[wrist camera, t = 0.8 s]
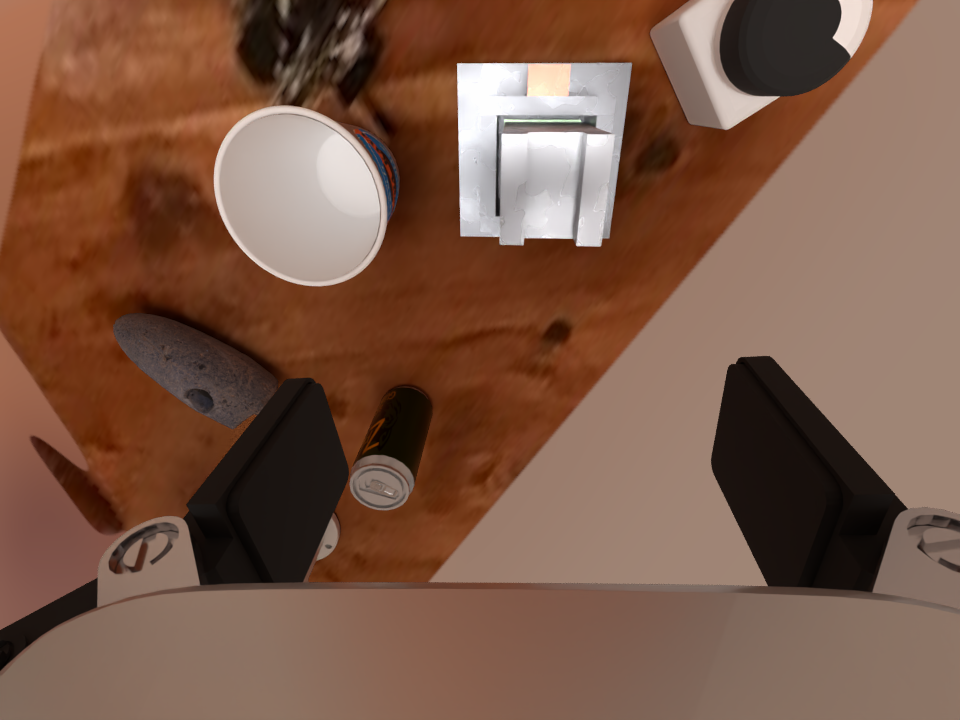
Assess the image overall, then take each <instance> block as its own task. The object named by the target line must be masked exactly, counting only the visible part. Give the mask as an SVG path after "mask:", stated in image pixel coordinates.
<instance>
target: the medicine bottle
mask: <svg viewBox="0 0 960 720" xmlns="http://www.w3.org/2000/svg"><path fill="white" fill-rule="evenodd" d="M872 6H873V0H689V1H688V2H686V3H685V4H684V5H682V6H681V7H680V8H678V9H677V10H676V11H674V12H673V13H672V14H670V15H669V16H668V17H666V18H665V19H664V20H662V21H661V22H660V23H658V24H657V25H656V26H654V27H653V28H652V29H651V32H650V36H651V39H652V41H653V43H654V45H655V48H656V50H657V52H658V55H659V57H660V59H661V61H662V64H663V66H664V68H665V70H666V73H667V75H668V77H669V79H670V82H671V84H672V86H673V88H674V91H675V93H676V95H677V98H678V100H679V102H680V104H681V107H682V109H683V111H684V113H685V116H686V118H687V120H688V122H689V123H690V124H692V125H699V126H705V127H712V128H718V129H725V130H727V129H730V128H732V127H733V126H735V125H736V124H738V123H739V122H741V121H743V120H744V119H746V118H747V117H749V116H750V115H752V114H754V113H755V112H757V111H758V110H760V109H761V108H763V107H765V106H766V105H768V104H769V103H771V102H772V101H774V100H776V99H777V98H779V97H780V96H794V95H799V94H803V93H806V92H809V91H811V90H813V89H815V88H817V87H819V86H821V85H822V84H824V83H825V82H827V81H828V80H830V79H831V78H832V77H833V76H835V75H836V74H837V73H838V72H839V71H840V70H841V69H842V68H843V67H844V66H845V65H846V64H847V62H848V61H849V60H850V59H851V57H852V56H853V55H854V53H855V52H856V50H857V49H858V47H859V45H860V43H861V41H862V40H863V37H864V35H865V33H866V30H867V28H868V25H869V21H870V18H871V13H872Z"/></svg>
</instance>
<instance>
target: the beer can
mask: <svg viewBox="0 0 960 720" xmlns="http://www.w3.org/2000/svg"><path fill="white" fill-rule="evenodd" d="M431 417H432V406H431V404H430V401H429V399H428V397H427V396H426V395H425V394H424V393H423V392H422V391H420V390H419V389H417V388H414V387H411V386H401V387H397V388H394V389H392V390H391V391H389V392H387V393H386V394H385V396H384V397H383V398H382V400H381V402H380V405H379V407H378V409H377V412H376V414H375V416H374V418H373V421H372V423H371V425H370V428H369V430H368V432H367V435H366V437H365V439H364V441H363V444H362V446H361V448H360V451H359V453H358V455H357V457H356V460H355V462H354V464H353V467H352V470H351V474H350V476H351V479H350V490H351V492H352V494H353V496H354V497H355V498H356V499H357V500H358V501H359V502H360V503H361V504H363V505H365V506H367V507H369V508H373V509H376V510H391V509H396V508H397V507H399V506H401V505H403V504H404V502H405V501H406V500H407V498H408V496H409V494H410V493H411V492H412V490H413V487H414V484H415V480H416V476H417V472H418V468H419V464H420V460H421V456H422V452H423V449H424V445H425V441H426V437H427V433H428V429H429V425H430V421H431Z"/></svg>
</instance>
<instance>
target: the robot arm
mask: <svg viewBox="0 0 960 720" xmlns="http://www.w3.org/2000/svg"><path fill="white" fill-rule="evenodd" d="M711 465H712V470H713V473H714V476H715V478H716V480H717V482H718V484H719V486H720V488H721V490H722V492H723V494H724V496H725V498H726V500H727V502H728V505H729V506H730V509H731V511H732V513H733V515H734V517H735V519H736V521H737V523H738V525H739V527H740V529H741V531H742V533H743V535H744V537H745V540H746V541H747V544H748V546H749V548H750V550H751V552H752V554H753V556H754V558H755V560H756V562H757V564H758V566H759V568H760V570H761V572H762V574H763V576H764V578H765V581H766V583H767V585H768V586H734V585H733V586H732V585H675V584H671V585H670V584H589V583H588V584H587V583H438V582H437V583H436V582H435V583H432V582H308V579H309V576H310V574H311V571H312V569H313V567H314V564H315V562H316V561H317V560H320V559H323V558H324V557H326V556H328V555H329V554H330V553H331V552H332V551H333V550H334V548H335V547H336V545H337V542H338V540H339V537H340V525H339V521H338V519H337V517H336V515H335V514H334V511H335V508H336V506H337V504H338V501H339V499H340V497H341V495H342V492H343V490H344V488H345V485H346V483H347V480H348V476H349V469H348V464H347V461H346V458H345V455H344V452H343V449H342V446H341V443H340V440H339V436H338V433H337V430H336V427H335V424H334V421H333V418H332V415H331V411H330V408H329V405H328V402H327V399H326V396H325V393H324V390H323V387H322V386H321V384H319V383H315V381H314V380H313V379H312V378H296V379H287V380H285V381H284V382H283V384H282V385H281V386H280V387H279V389H278V390H277V391H276V392H275V394H274V395H273V396H272V397H271V399H270V400H269V401H268V402H267V404H266V405H265V406H264V407H263V409H262V410H261V411H260V413H259V414H258V415H257V416H256V418H255V419H254V420H253V421H252V423H251V424H250V425H249V426H248V428H247V429H246V430H245V431H244V433H243V434H242V435H241V436H240V438H239V439H238V440H237V441H236V443H235V444H234V445H233V446H232V448H231V449H230V450H229V451H228V453H227V454H226V455H225V456H224V458H223V459H222V460H221V462H220V463H219V464H218V465H217V467H216V468H215V469H214V470H213V472H212V473H211V474H210V475H209V477H208V478H207V479H206V480H205V482H204V483H203V484H202V485H201V487H200V488H199V489H198V490H197V492H196V493H195V494H194V495H193V497H192V498H191V499H190V500H189V502H188V503H187V504H186V505H187V507H188V509H189V510H190V511H189V512H188V513H187V514H186V516H185V517H184V518H183V519H181V518H179V517H175V516H165V517H159V518H155V519H152V520H149V521H147V522H144V523H142V524H140V525H138V526H136V527H134V528H132V529H131V530H129V531H128V532H126V533H125V534H124V535H122V536H121V537H119V538H118V539H117V540H116V541H115V542H114V543H113V544H112V545H111V546H110V547H109V548H108V549H107V550H106V552H105V554H104V555H103V557H102V558H101V560H100V563H99V567H98V578H97V579H95V580H93V581H91V582H89V583H87V584H85V585H84V586H81V587H80V588H78V589H76V590H74V591H72V592H70V593H68V594H67V595H65V596H63V597H61V598H59V599H57V600H55V601H54V602H52V603H50V604H48V605H46V606H44V607H42V608H41V609H39V610H37V611H35V612H33V613H31V614H29V615H28V616H26V617H24V618H22V619H20V620H18V621H16V622H14V623H13V624H11V625H9V626H7V627H5V628H3V629H1V630H0V720H960V514H957V513H953V512H949V511H946V510H942V509H935V508H928V507H922V508H910V509H907V507H906V506H905V505H904V504H903V503H902V502H901V501H900V500H899V499H898V497H897V496H896V495H895V493H894V492H893V491H892V490H891V489H890V488H889V487H888V486H887V485H886V483H885V482H884V481H883V480H882V479H881V478H880V477H879V476H878V475H877V474H876V472H875V471H874V470H873V469H872V468H871V467H870V466H869V465H868V464H867V462H866V461H865V460H864V459H863V458H862V457H861V456H860V455H859V454H858V452H857V451H856V450H855V449H854V448H853V447H852V446H851V445H850V444H849V443H848V441H847V440H846V439H845V438H844V437H843V436H842V435H841V434H840V433H839V431H838V430H837V429H836V428H835V427H834V426H833V425H832V424H831V423H830V422H829V420H828V419H827V418H826V417H825V416H824V415H823V414H822V413H821V411H820V410H819V409H818V408H817V407H816V406H815V405H814V404H813V403H812V401H811V400H810V399H809V398H808V397H807V396H806V395H805V394H804V393H803V391H802V390H801V389H800V388H799V387H798V386H797V385H796V384H795V383H794V381H793V380H791V378H790V377H789V376H788V375H787V374H786V373H785V372H784V370H783V369H782V368H781V367H780V366H779V365H778V364H777V363H776V362H775V360H774V359H773V358H771V357H770V356H757V357H741V358H739V359H738V361H737V362H736V364H731V365H730V366H729V367H728V370H727V375H726V381H725V386H724V392H723V397H722V403H721V408H720V413H719V419H718V424H717V429H716V435H715V441H714V446H713V452H712V458H711Z"/></svg>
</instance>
